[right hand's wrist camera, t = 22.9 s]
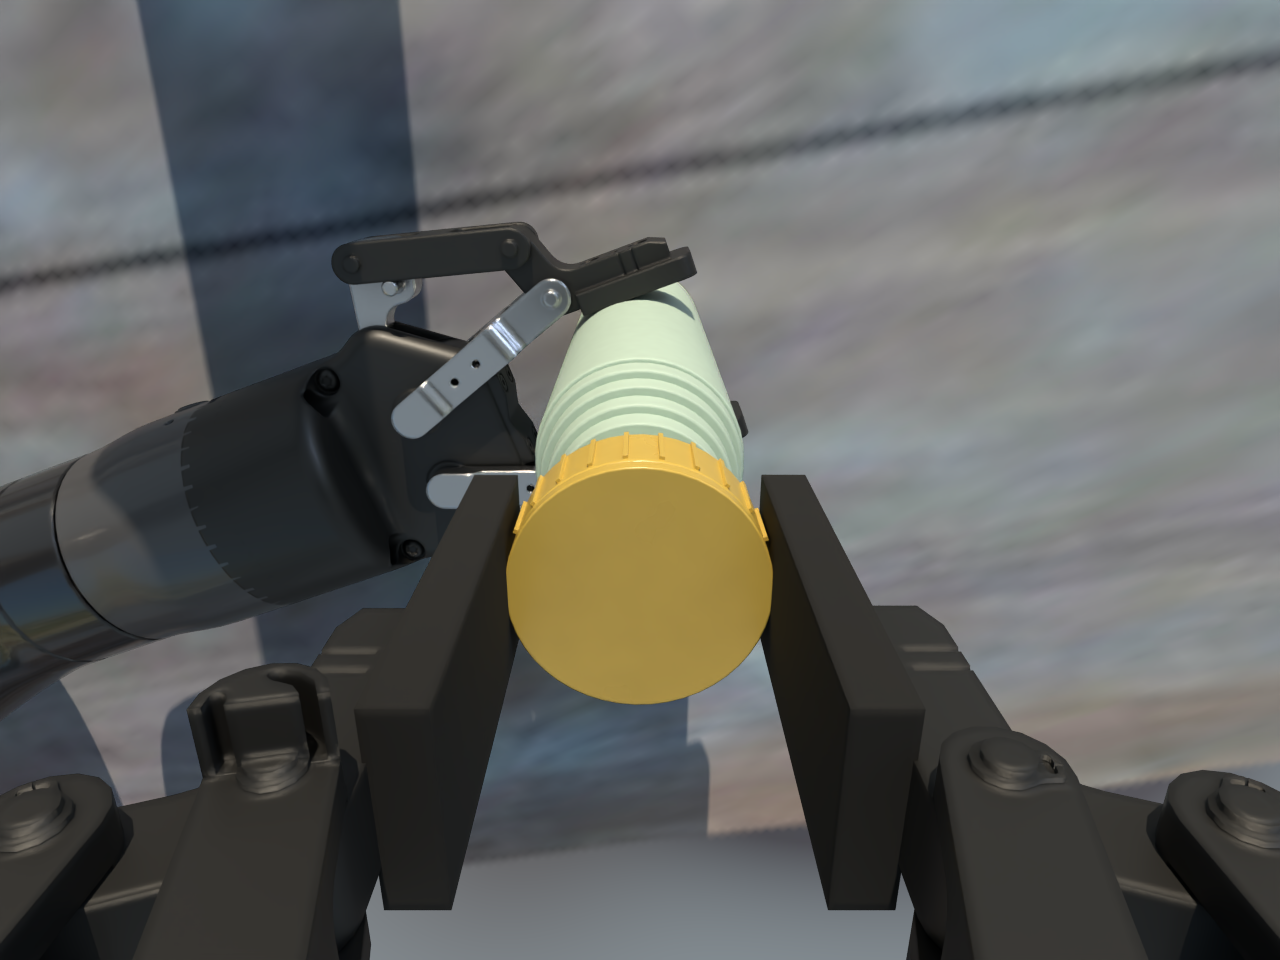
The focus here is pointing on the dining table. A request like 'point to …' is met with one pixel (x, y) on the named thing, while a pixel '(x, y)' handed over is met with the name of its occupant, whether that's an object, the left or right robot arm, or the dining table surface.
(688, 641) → the cap
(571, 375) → the bottle
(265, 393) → the left robot arm
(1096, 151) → the dining table surface
